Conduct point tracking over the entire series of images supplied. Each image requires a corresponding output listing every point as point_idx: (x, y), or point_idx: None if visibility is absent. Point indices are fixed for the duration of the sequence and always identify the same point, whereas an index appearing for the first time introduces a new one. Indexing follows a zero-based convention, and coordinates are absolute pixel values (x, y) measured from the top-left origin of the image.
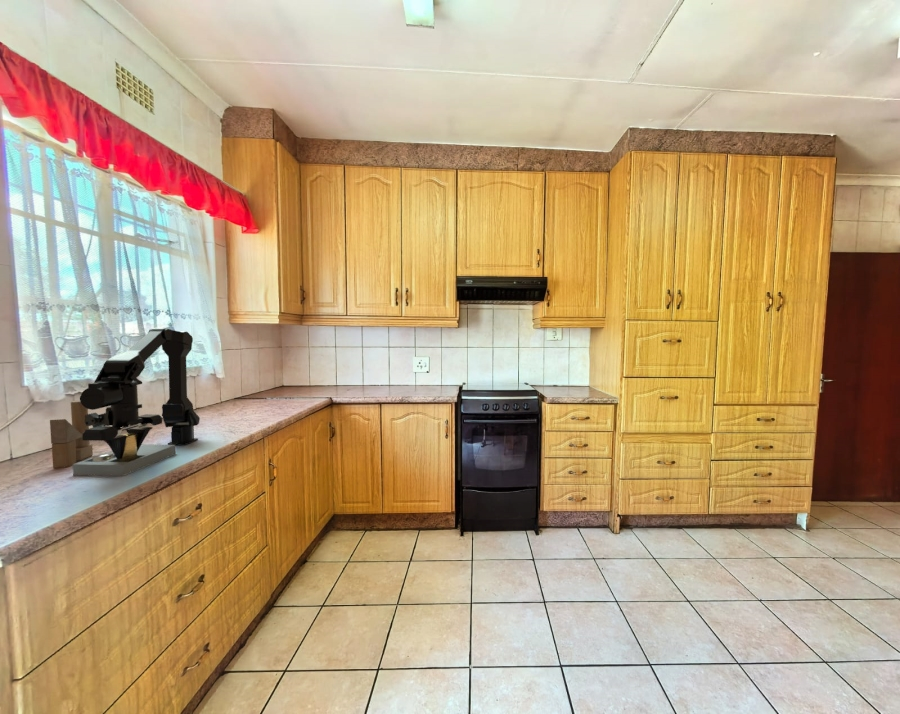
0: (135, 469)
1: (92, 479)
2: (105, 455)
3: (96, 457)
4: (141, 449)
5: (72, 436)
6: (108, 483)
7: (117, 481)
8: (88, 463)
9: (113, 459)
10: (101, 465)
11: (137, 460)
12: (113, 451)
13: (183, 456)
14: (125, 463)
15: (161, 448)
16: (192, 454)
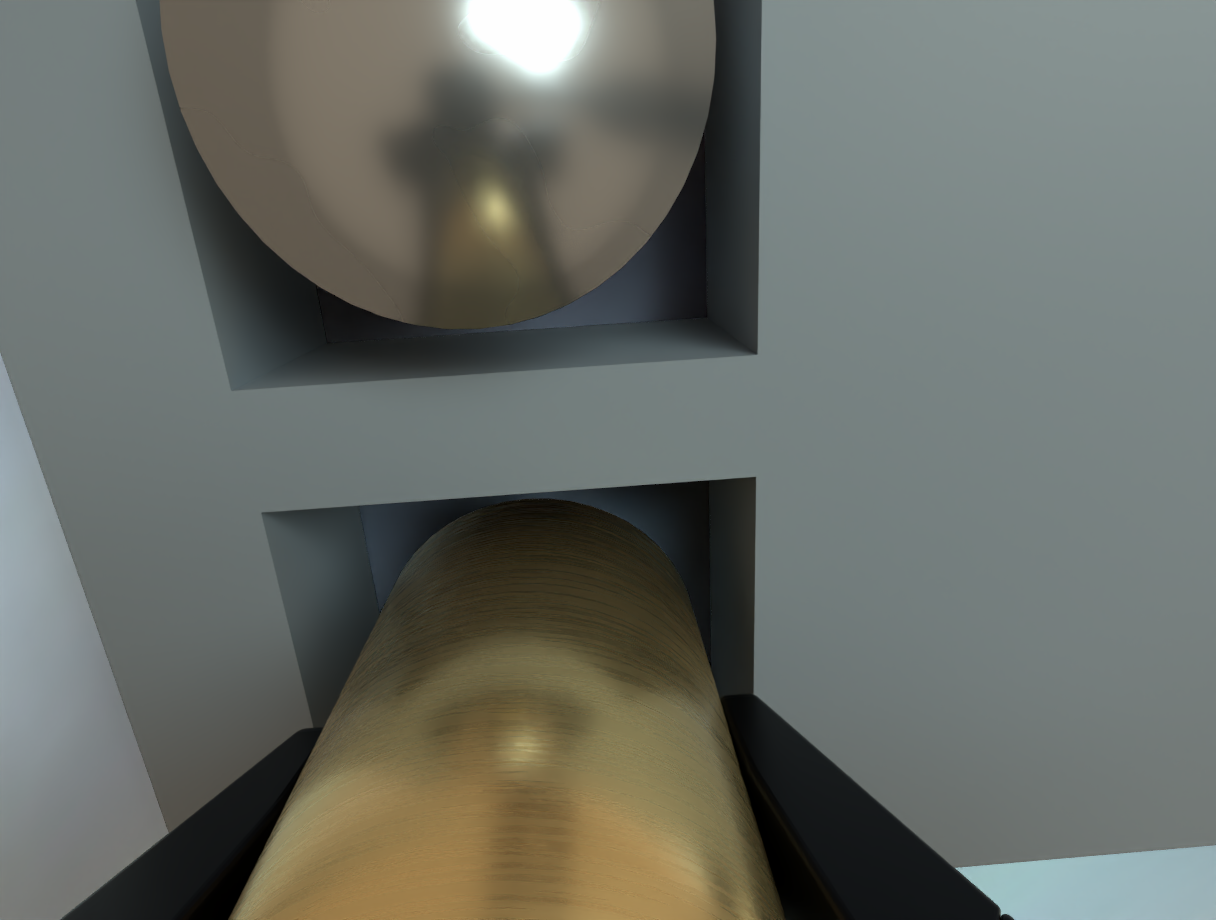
0: None
1: (39, 482)
2: (420, 190)
3: (200, 77)
4: (1206, 417)
5: None
6: (34, 827)
7: (123, 865)
8: (4, 118)
9: (431, 465)
10: (81, 554)
11: None
12: (102, 918)
13: (1100, 869)
14: None
15: (1207, 774)
16: (1177, 910)
